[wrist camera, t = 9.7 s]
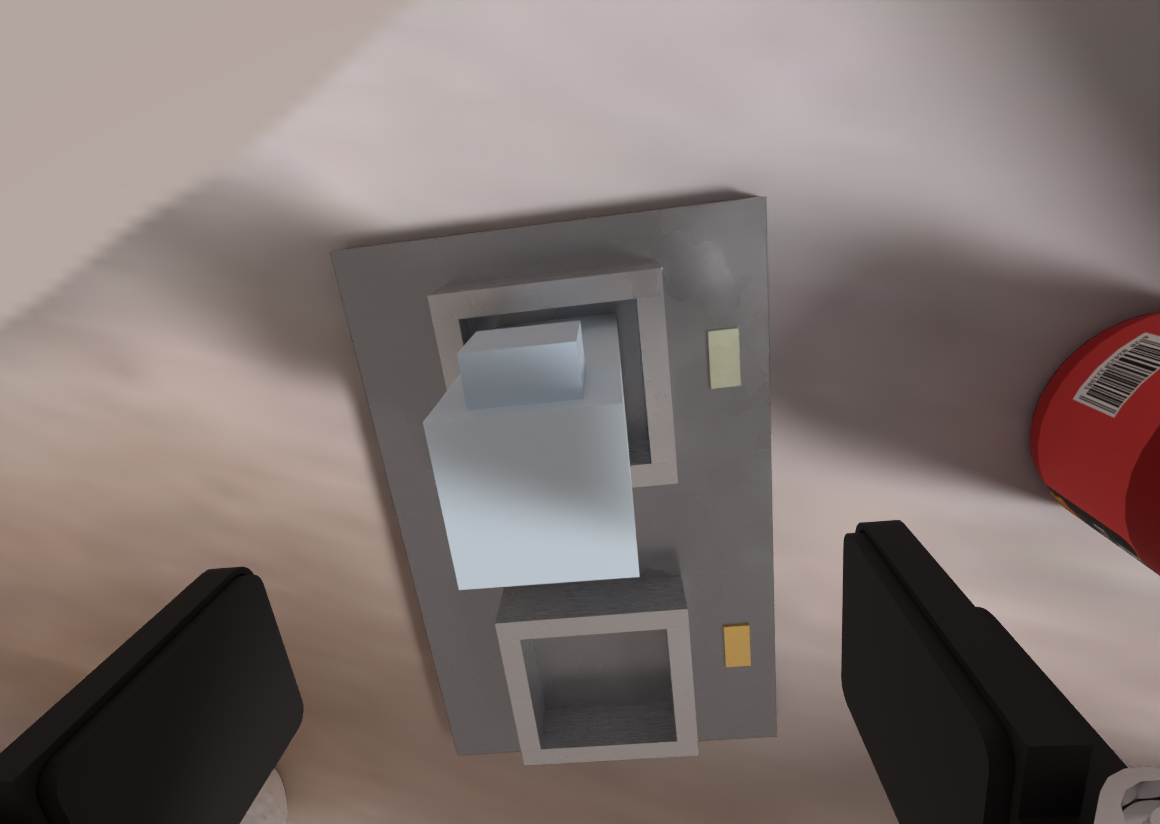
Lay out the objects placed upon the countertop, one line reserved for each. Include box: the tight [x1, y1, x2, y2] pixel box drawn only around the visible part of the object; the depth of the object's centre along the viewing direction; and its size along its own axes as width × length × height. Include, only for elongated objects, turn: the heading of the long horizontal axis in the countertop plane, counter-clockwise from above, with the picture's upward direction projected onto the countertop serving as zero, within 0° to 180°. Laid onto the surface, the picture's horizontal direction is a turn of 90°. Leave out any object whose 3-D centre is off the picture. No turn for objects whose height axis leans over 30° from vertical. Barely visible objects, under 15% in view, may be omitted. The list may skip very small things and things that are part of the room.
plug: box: [423, 313, 640, 590], centre depth 17 cm, size 5×4×9 cm
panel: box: [330, 196, 777, 766], centre depth 23 cm, size 22×14×3 cm, turn 7°
